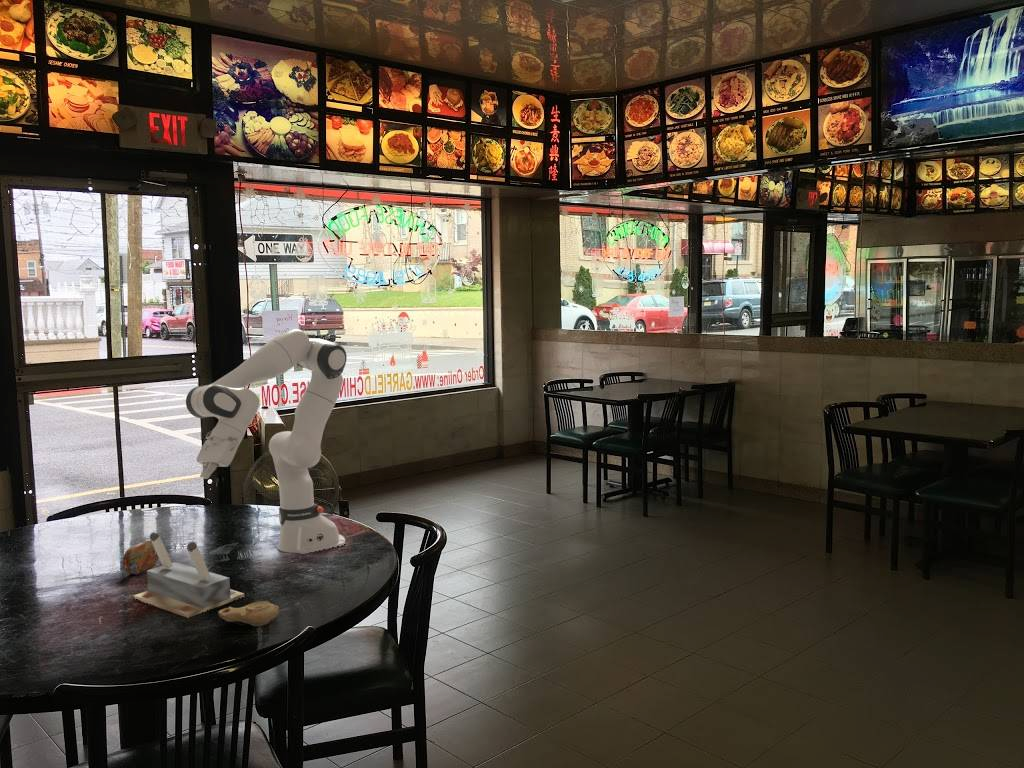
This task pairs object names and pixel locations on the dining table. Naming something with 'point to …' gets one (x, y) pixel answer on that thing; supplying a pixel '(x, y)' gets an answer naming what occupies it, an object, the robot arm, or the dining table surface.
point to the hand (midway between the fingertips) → (203, 477)
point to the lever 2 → (198, 561)
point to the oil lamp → (251, 613)
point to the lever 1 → (160, 550)
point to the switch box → (186, 590)
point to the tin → (140, 557)
